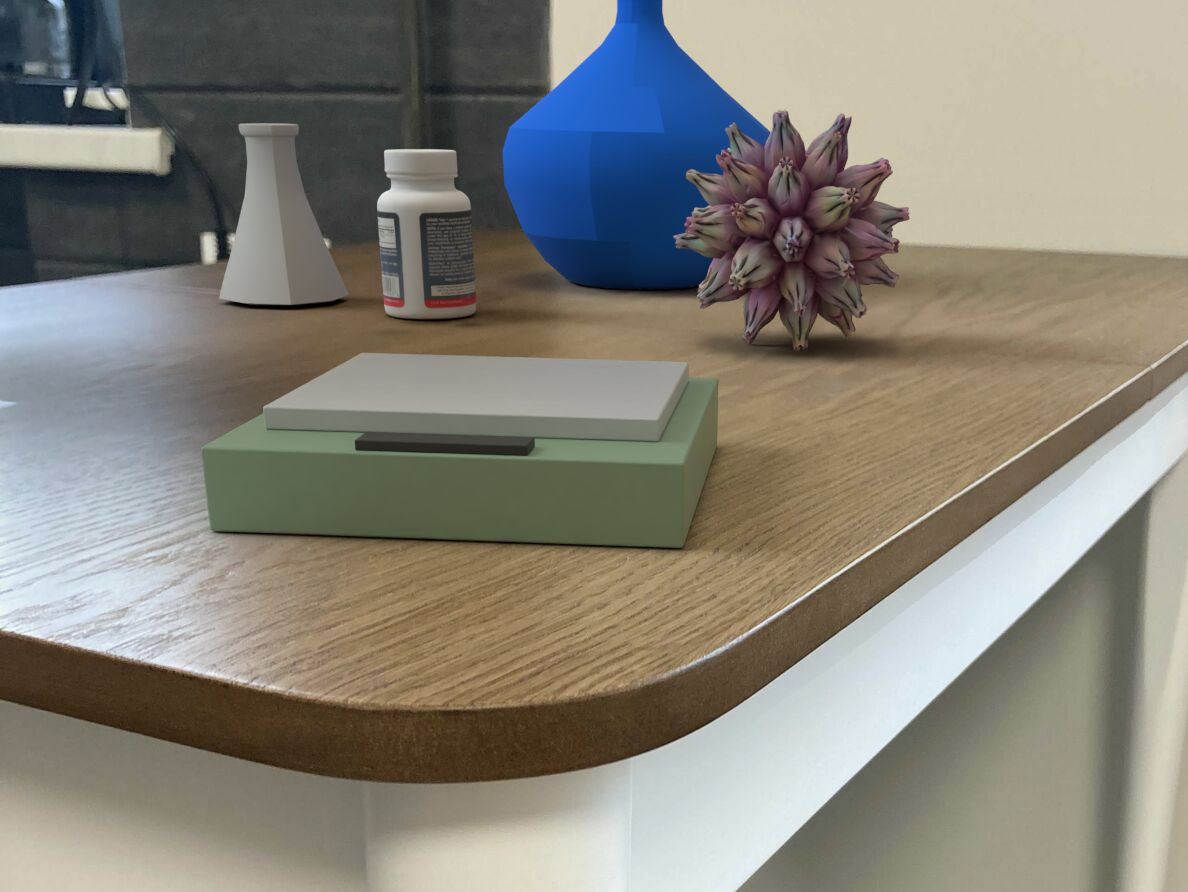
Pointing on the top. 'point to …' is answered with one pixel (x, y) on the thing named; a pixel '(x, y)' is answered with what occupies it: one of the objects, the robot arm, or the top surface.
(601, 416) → the scale
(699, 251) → the flower
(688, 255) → the vase
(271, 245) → the flask
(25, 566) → the top surface
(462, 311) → the pill bottle
